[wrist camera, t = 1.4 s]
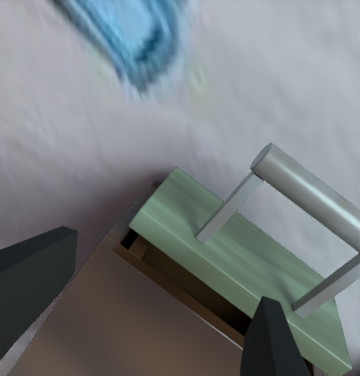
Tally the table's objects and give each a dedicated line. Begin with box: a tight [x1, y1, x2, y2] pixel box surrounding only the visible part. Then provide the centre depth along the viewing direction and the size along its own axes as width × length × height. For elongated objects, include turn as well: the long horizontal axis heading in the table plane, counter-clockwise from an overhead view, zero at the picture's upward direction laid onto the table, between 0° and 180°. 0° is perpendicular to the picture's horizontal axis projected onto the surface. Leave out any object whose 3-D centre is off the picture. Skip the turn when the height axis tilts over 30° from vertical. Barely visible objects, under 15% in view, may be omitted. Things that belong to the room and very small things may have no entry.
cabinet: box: [7, 181, 324, 376], centre depth 22 cm, size 16×14×8 cm
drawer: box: [127, 143, 360, 376], centre depth 19 cm, size 20×12×6 cm, turn 146°
